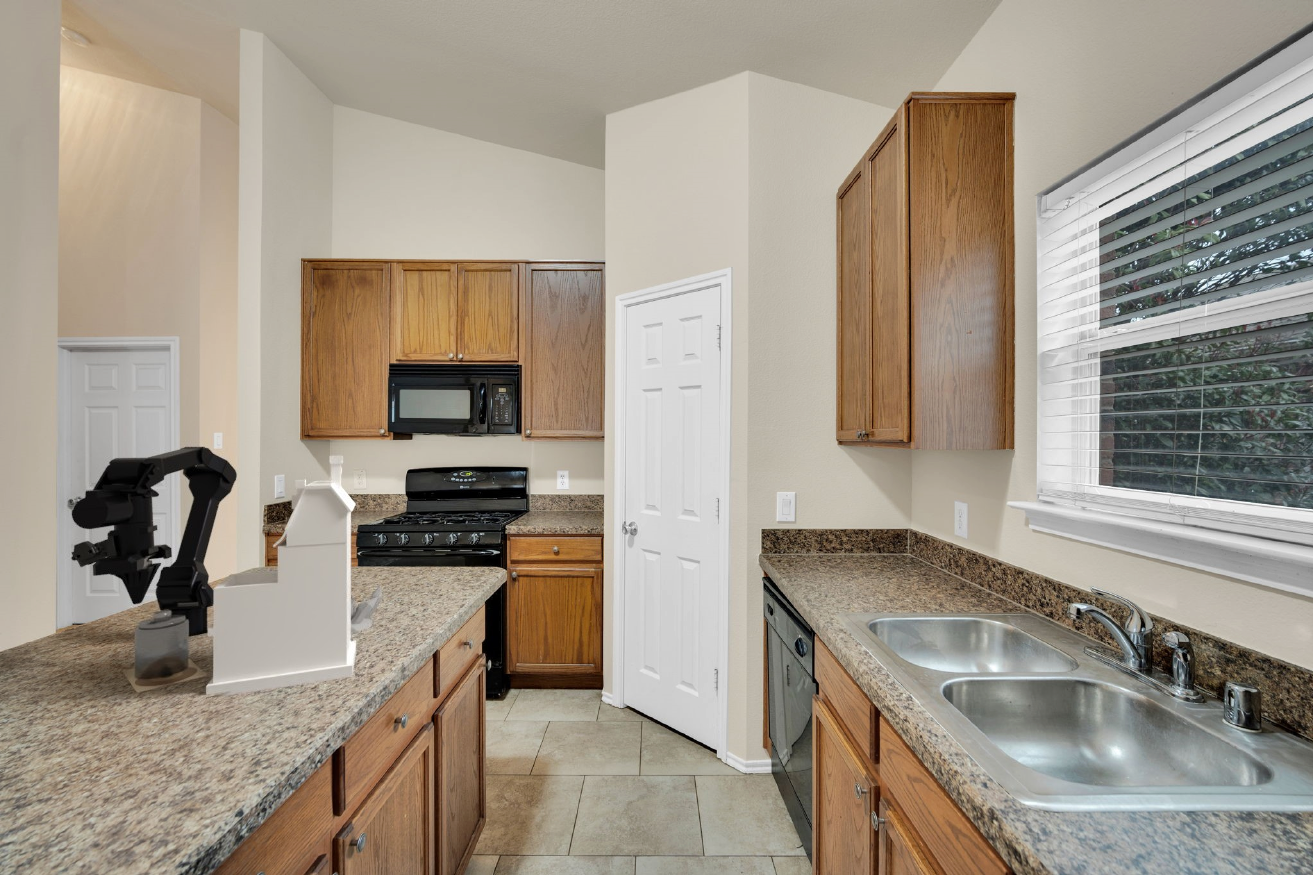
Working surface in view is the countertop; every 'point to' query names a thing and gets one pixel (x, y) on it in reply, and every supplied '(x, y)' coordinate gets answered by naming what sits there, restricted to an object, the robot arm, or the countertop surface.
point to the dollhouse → (291, 601)
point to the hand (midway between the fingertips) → (137, 603)
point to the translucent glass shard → (364, 611)
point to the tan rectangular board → (163, 678)
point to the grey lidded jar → (161, 645)
